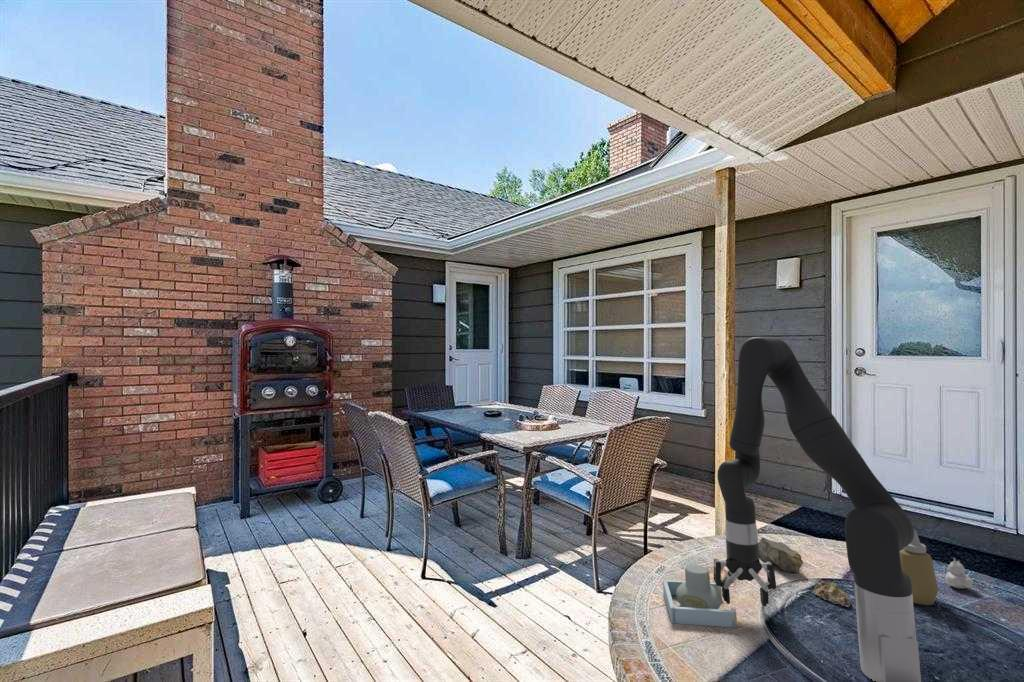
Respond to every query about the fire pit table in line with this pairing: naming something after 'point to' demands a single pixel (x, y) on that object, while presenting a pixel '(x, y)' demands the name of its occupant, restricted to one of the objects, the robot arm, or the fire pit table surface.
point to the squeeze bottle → (919, 571)
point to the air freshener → (698, 589)
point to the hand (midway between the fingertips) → (745, 603)
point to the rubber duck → (958, 576)
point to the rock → (780, 555)
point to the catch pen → (697, 610)
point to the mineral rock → (831, 593)
